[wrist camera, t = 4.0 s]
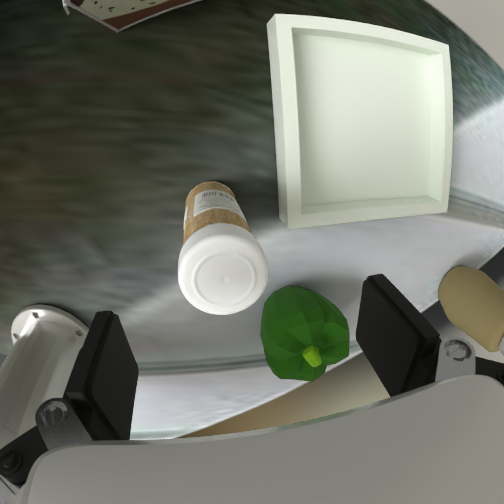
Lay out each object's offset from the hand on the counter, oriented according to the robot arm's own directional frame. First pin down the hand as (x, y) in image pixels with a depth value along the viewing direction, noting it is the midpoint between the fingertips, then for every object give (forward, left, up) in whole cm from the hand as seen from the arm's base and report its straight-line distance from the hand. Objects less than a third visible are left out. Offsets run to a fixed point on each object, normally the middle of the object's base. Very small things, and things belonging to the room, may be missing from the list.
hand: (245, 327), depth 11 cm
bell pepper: (-12, -7, -18) cm, 23 cm away
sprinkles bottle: (0, 0, -18) cm, 18 cm away
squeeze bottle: (-14, -31, -18) cm, 38 cm away
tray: (+7, -15, -18) cm, 24 cm away
